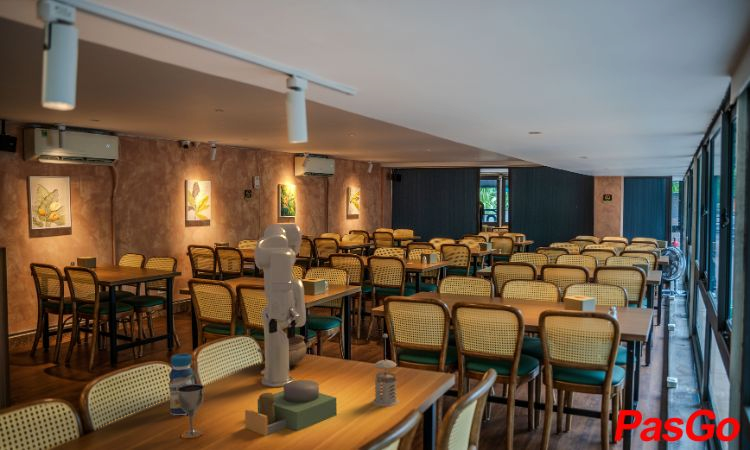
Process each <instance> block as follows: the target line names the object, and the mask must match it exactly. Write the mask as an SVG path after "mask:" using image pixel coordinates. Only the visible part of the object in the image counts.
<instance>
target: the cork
mask: <svg viewBox="0 0 750 450" xmlns="http://www.w3.org/2000/svg"><path fill="white" fill-rule="evenodd" d="M274 394H275V393H272V392H263V393H261V394H260V395H259V396H258V399H259V403H260V404H261V406H260V414H263V415H266V416H267V424H268V425H270V424H273V423H275V422H276V418H275V411H274V405H273V403H274V402H275V396H274Z"/></svg>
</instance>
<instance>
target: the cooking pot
mask: <svg viewBox="0 0 750 450" xmlns="http://www.w3.org/2000/svg"><path fill="white" fill-rule="evenodd" d="M285 334H286V335H287V333H285ZM288 340H289V368H291V367H293V366H295V365H297V364H298V363H299V362H301V361H302V360H303V359H304V358H305V357H306V353H307V349H308V348H310V347H311V346H312V343H311V342H306V343H305V341H304V340H305V336H303V335H300V334H296V333H295V337H293V338H288ZM257 352H258V353H260V354H263V357H264V358H265V345H264V346H263V349H260V348H258V349H257Z"/></svg>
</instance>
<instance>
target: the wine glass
mask: <svg viewBox="0 0 750 450" xmlns="http://www.w3.org/2000/svg"><path fill="white" fill-rule="evenodd" d="M204 394H205V386H204V384H200V383H194V384H188V385H183V386H181V387H179V388H178V400H179V404H180V407H181V408H182V409H183V410H184V411H185V412H186V413H187V414H188V419H189V425H190V427H189V429H190V430H187V431H188V432H186V431H185V432H186V433H185V434H186V435H188V436H191V435H197V434H200V431H197V430H198V429H194V418H195V414H196V413H197V412H198V411H199V409H200V408H201V406H202V405H203V401H204V396H205V395H204Z"/></svg>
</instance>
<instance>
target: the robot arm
mask: <svg viewBox="0 0 750 450" xmlns="http://www.w3.org/2000/svg"><path fill="white" fill-rule="evenodd" d="M263 233H264V236H262V237H260V238H259V239H258V240H257V241H256V245H255V248H254V254H253V255H254V264H255V265H256V268H258V269H260V270H263V278H264V279H263V283H264V284H263V285H264V297H265V300H267V304H266V305H267V306H265V307H263V309H262V311H261V317H262V318H261V320H262V325H263V332H264V333H263V334H264V335H263V336H264V346H265V357H264V368H263V370H261V371H260V375H264V377H263V378H262V379H261V384H262V385H263V386H265V387H270V388H271V387H272V388H276V387H284V385H285V384H286V383H289V382H292V381H294V378H293V376H291V375H290V367H289V340H288V338H293V337H295V334H296V328H302V327H303V326H305V324H306V321H307V316H306V315H307V310H306V299H305V287H304V283H303V281H302V280H301V279H300V278H293V266H294V264H295V263H296V259H297V258H296V256H297V255H298V254H299V253H300V249H301V245H302V244H301V243H302V239H303V238H302V236H303V235H302V230H301V228H300V227H299V225H297V224H296V223H274V224H270V225H268V226H267V227H266V228H265V229H264V232H263ZM283 329H286V332H285V331H284V330H283ZM286 334H287V335H286Z"/></svg>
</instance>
